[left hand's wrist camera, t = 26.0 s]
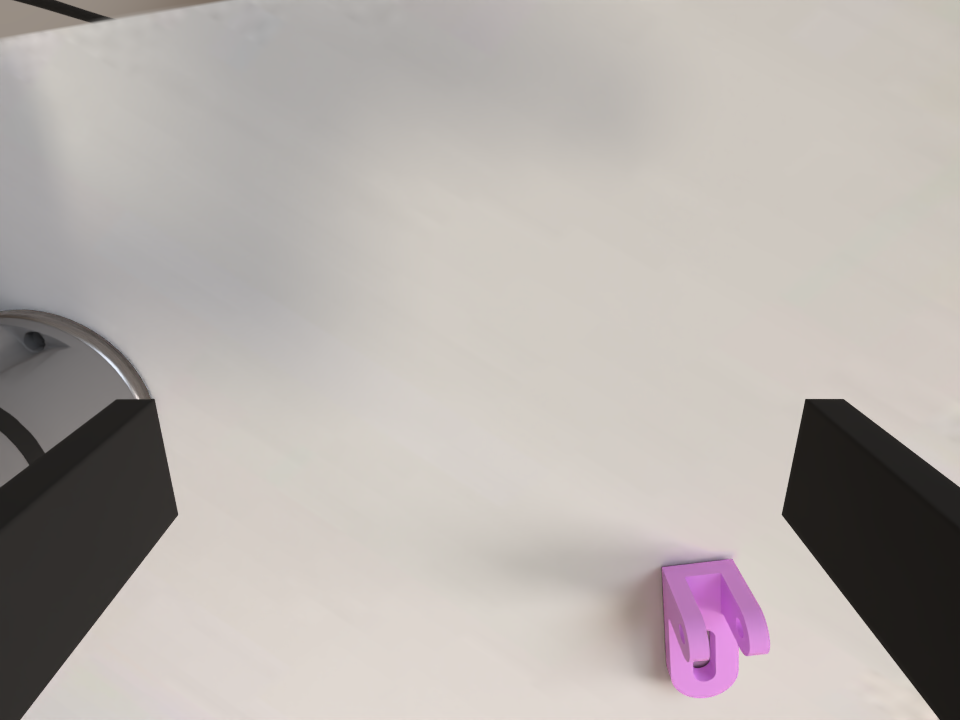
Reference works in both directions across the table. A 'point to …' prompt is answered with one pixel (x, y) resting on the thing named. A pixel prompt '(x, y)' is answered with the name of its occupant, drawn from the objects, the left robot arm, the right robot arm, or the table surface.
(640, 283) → the table surface
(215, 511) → the table surface
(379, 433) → the table surface
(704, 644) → the bracket
